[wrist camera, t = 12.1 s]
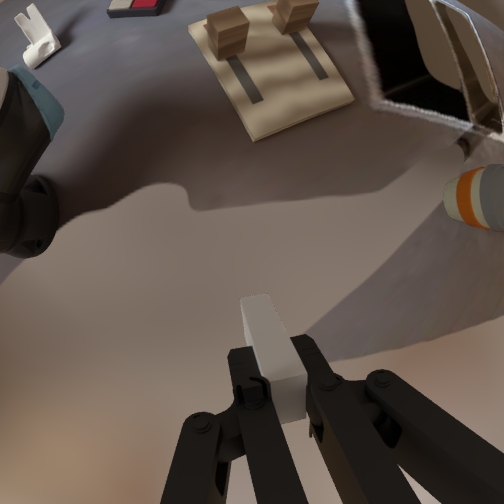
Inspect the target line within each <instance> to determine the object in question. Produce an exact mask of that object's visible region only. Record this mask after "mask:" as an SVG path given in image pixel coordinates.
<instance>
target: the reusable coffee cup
mask: <svg viewBox="0 0 504 504" xmlns="http://www.w3.org/2000/svg"><path fill="white" fill-rule="evenodd" d="M443 200H444V206H445V209H446V211H447V213H448V215H449V216H450V217H451V218H452V219H454V220H458V221H463V222H466V223H467V224H468V225H471V226H475V227H479V228H483V229H492V230H494V231H496V232H502V231H504V165H503V164H491V165H488V166H487V167H486V168H485V167H480V168H477V169H474V170H471V171H468V172H466V173H464V174H462V176H460V177H457V178H454V179H451V180H450V181H448V182H447V184H446V186H445V189H444V193H443Z"/></svg>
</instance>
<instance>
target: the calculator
mask: <svg viewBox="0 0 504 504" xmlns="http://www.w3.org/2000/svg"><path fill="white" fill-rule="evenodd" d="M165 1H166V0H112V2H111V3H110V5H109V7H108V9H107V14H108V15H109V17H110V18H123V17H145V16H159V14H160V12H161V10H162V8H163V5H164V3H165Z"/></svg>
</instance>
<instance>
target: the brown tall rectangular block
mask: <svg viewBox="0 0 504 504" xmlns="http://www.w3.org/2000/svg"><path fill="white" fill-rule="evenodd" d="M249 25H250V21H249V20H248V18H247V17H246V16H245V14H244V13H243V12H242V11H241V9H240V8H239V7H238V6H236V7H232V8H229V9H225V10H222V11H219V12H216V13H213V14H209V15H207V38H208V47H209V48H210V50H211V52H212V53H213V55H214V56H215V58H216V60H217V61H220V60H222V59H225V58H228V57H230V56H233V55H236V54H239V53H242V52H245V46H246V41H247V36H248V30H249Z"/></svg>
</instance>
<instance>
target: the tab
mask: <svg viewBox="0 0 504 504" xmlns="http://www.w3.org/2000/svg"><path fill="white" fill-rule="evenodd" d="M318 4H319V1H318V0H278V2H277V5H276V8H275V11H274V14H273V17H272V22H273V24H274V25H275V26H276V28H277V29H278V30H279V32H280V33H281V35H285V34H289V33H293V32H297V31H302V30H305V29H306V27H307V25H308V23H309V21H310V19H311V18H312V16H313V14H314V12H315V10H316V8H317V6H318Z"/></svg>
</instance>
